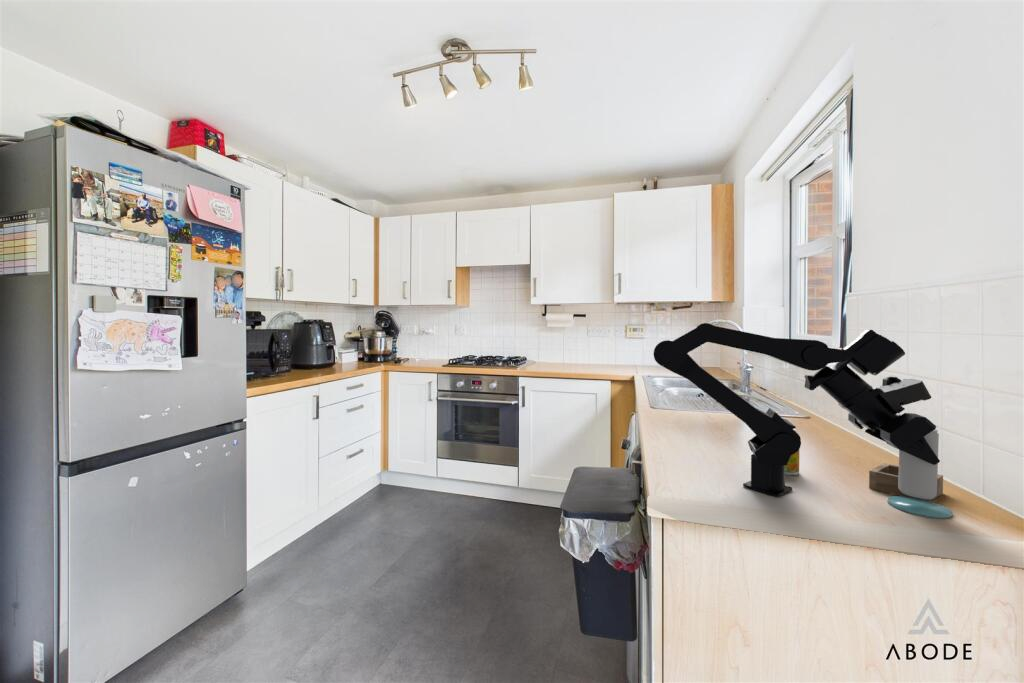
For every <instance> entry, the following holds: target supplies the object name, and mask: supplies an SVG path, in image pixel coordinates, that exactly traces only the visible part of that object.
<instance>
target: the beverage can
mask: <svg viewBox="0 0 1024 683" xmlns="http://www.w3.org/2000/svg"><path fill="white" fill-rule="evenodd" d="M938 432H939V431H938V429H937V428H936V429H935V430H933V431H932V432H930V433H929V434H927V435H926V436H924V438H925V439H926V441H927V443H928V444H929V446H930V447H931V449H932V450H933V451H934V453H935V454H936V456H937V457H938V458H939V440H940V437H939V436H940V434H939V433H938ZM898 451H899V452H898V466H899V475H898V488H899V490H900V491H901V492H902V493H904V494H906V495H909V496H912V497H916V498H921V499H933V498H935V497H936V496H937V474H939V472H938V471H939V470H938V468H939V466H938V465H939V463H938V464H936V465H933V464H930V463H928V462H926V461H924V460H922V459H919V458H917V457H915V456H912V455H910V454H908V453H906V452H903V451H901V450H899V449H898Z"/></svg>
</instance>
